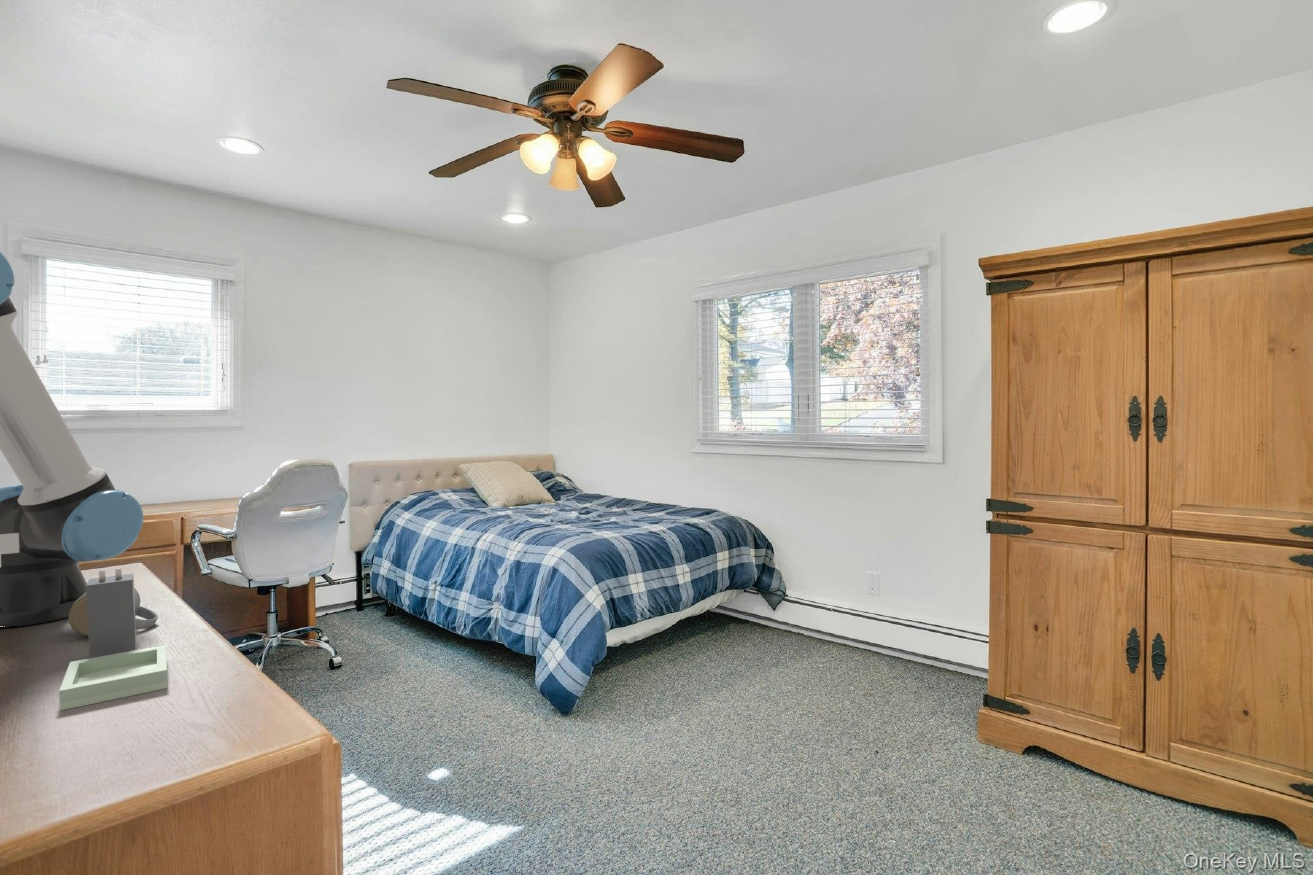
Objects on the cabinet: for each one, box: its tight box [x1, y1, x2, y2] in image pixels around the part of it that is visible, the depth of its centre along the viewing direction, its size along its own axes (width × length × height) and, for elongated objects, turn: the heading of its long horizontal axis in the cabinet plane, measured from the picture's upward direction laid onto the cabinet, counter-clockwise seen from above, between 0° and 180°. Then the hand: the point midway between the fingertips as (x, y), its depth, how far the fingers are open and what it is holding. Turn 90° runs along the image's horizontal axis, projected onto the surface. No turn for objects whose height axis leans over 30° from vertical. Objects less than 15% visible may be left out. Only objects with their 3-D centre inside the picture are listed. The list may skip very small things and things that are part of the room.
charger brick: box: [86, 567, 138, 659], centre depth 95 cm, size 5×5×12 cm
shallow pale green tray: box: [58, 644, 169, 712], centre depth 85 cm, size 12×10×2 cm
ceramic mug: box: [67, 587, 159, 638], centre depth 107 cm, size 11×8×8 cm
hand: (10, 549), depth 88 cm, fingers open, 13 cm apart
